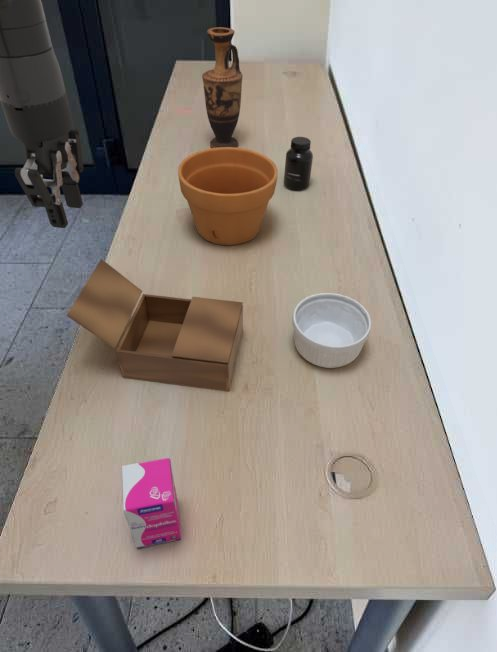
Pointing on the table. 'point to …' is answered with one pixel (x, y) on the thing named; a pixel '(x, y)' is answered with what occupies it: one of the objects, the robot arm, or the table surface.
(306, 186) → the supplement bottle
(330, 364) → the ramekin
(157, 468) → the supplement box
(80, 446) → the table surface
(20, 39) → the robot arm
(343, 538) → the table surface
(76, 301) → the flap
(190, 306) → the carton
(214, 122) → the vase
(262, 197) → the flower pot
